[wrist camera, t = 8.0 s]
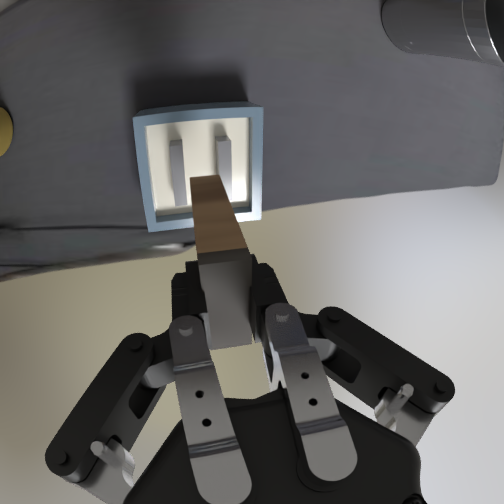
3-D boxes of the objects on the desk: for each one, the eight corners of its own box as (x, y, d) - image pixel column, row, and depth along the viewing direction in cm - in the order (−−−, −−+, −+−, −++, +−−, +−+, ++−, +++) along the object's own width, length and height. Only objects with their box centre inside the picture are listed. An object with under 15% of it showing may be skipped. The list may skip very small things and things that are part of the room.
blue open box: (141, 109, 28) (131, 118, 22) (248, 101, 31) (266, 108, 25) (152, 206, 35) (147, 237, 29) (248, 196, 37) (263, 223, 31)
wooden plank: (189, 177, 19) (198, 265, 11) (219, 174, 19) (252, 258, 11) (195, 242, 22) (210, 350, 14) (222, 238, 22) (251, 343, 14)
